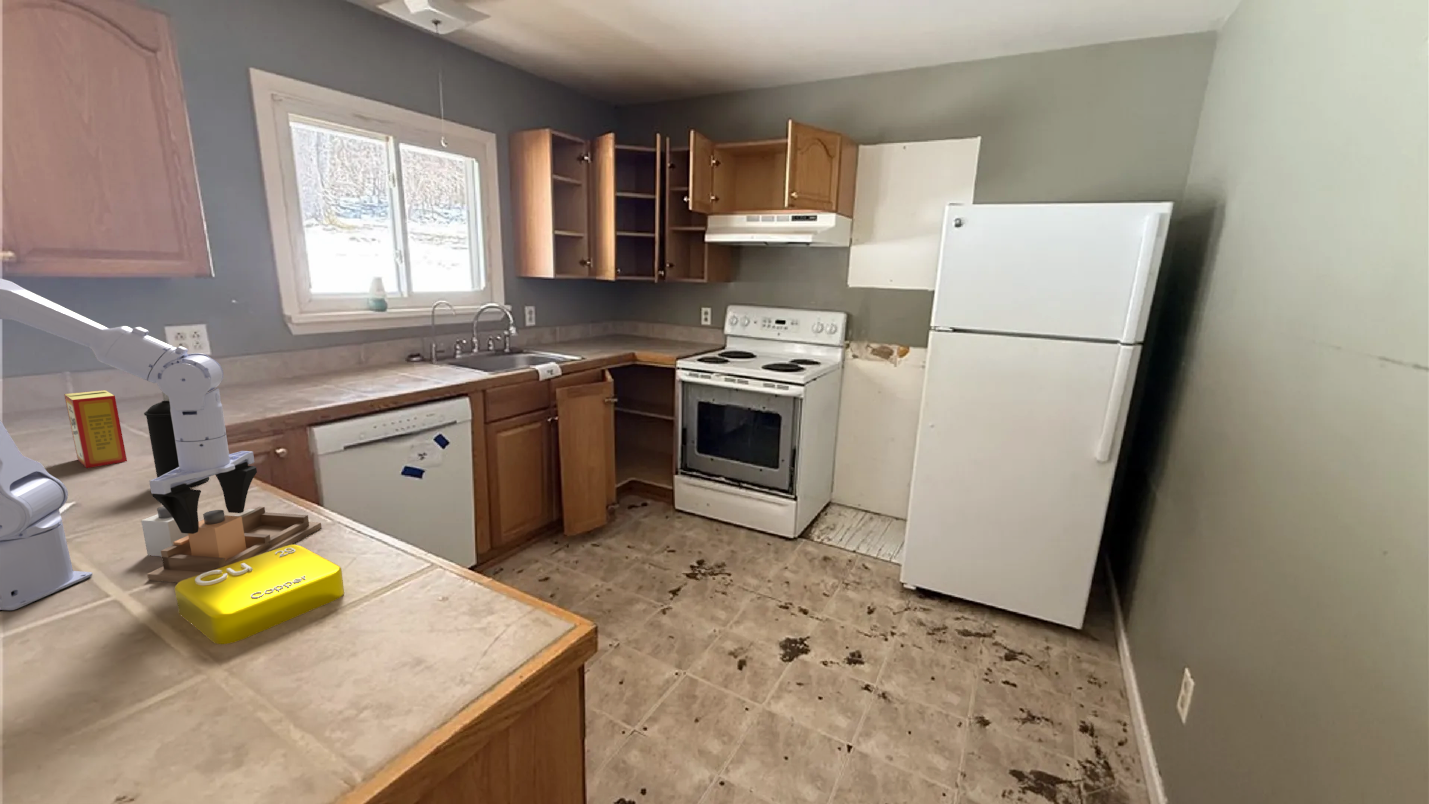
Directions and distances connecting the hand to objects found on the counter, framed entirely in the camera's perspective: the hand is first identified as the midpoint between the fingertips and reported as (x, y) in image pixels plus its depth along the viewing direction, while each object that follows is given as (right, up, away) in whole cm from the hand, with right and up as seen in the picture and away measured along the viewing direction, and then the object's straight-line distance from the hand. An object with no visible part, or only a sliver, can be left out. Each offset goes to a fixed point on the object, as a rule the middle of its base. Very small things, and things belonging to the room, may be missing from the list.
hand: (213, 521), depth 88 cm
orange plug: (0, -6, +1) cm, 6 cm away
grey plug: (-11, -6, +5) cm, 13 cm away
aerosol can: (-36, +1, +33) cm, 49 cm away
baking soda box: (-66, +5, +45) cm, 80 cm away
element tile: (+14, -10, -8) cm, 19 cm away
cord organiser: (0, -6, +5) cm, 8 cm away
